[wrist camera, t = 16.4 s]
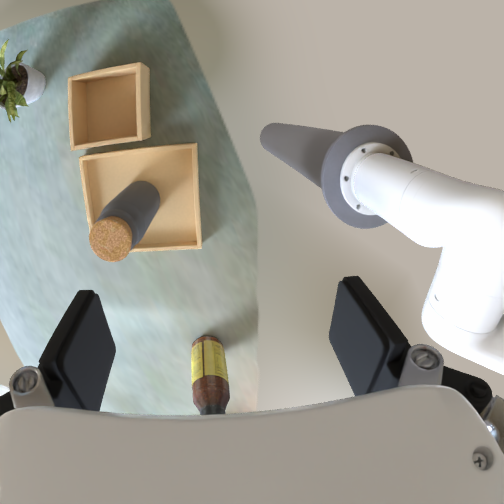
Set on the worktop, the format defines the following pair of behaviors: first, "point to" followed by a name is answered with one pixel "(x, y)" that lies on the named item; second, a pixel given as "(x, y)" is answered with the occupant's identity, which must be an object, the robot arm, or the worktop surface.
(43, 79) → the house plant
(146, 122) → the bin
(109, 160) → the tray
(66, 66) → the worktop surface
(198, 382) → the sauce bottle
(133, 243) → the bottle
